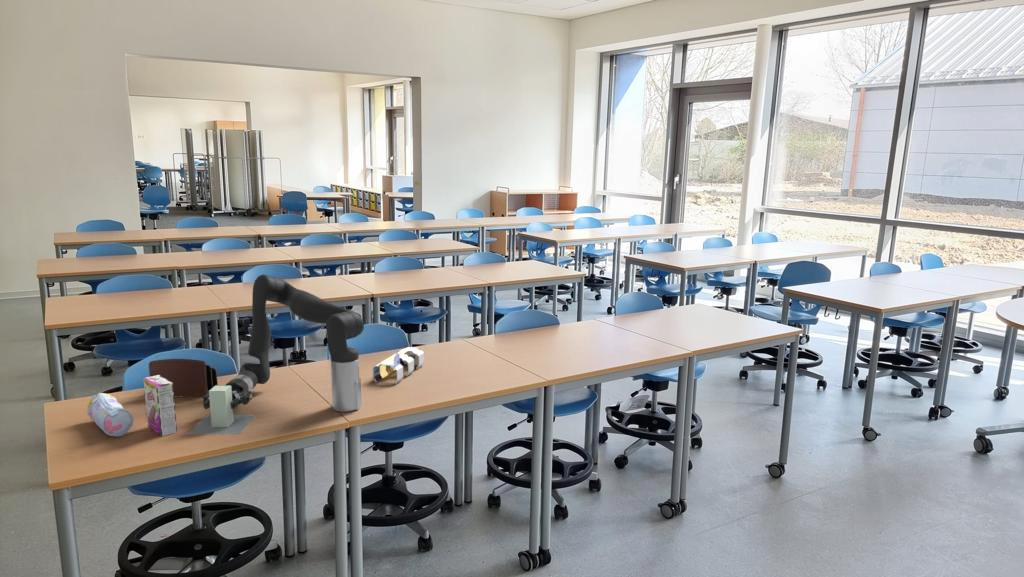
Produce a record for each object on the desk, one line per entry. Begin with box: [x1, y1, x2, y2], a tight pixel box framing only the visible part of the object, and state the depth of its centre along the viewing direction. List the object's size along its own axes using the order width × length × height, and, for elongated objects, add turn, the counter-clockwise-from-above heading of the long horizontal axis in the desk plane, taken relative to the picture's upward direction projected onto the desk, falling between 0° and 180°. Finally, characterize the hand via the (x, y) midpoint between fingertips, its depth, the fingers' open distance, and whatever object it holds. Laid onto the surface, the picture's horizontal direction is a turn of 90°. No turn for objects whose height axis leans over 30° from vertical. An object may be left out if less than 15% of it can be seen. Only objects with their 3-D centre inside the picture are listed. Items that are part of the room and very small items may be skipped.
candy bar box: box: [142, 375, 178, 437], centre depth 202 cm, size 11×5×16 cm, turn 48°
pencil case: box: [86, 392, 134, 437], centre depth 205 cm, size 21×9×10 cm, turn 44°
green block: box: [209, 385, 234, 427], centre depth 208 cm, size 5×5×12 cm
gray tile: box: [186, 414, 257, 436], centre depth 209 cm, size 16×16×1 cm
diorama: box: [372, 346, 425, 385], centre depth 260 cm, size 25×10×13 cm, turn 164°
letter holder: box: [148, 358, 219, 398], centre depth 236 cm, size 10×20×14 cm, turn 93°
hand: (218, 406), depth 205 cm, fingers open, 7 cm apart
